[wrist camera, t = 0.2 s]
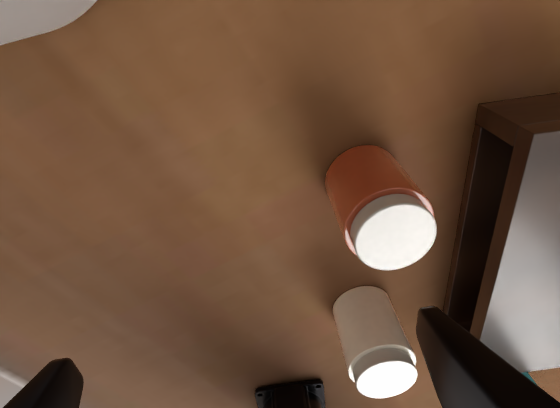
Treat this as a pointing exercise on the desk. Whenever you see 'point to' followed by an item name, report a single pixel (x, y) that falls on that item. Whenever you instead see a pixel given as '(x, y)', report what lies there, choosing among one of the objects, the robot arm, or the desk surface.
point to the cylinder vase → (37, 17)
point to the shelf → (511, 234)
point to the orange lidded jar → (379, 208)
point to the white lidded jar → (374, 343)
